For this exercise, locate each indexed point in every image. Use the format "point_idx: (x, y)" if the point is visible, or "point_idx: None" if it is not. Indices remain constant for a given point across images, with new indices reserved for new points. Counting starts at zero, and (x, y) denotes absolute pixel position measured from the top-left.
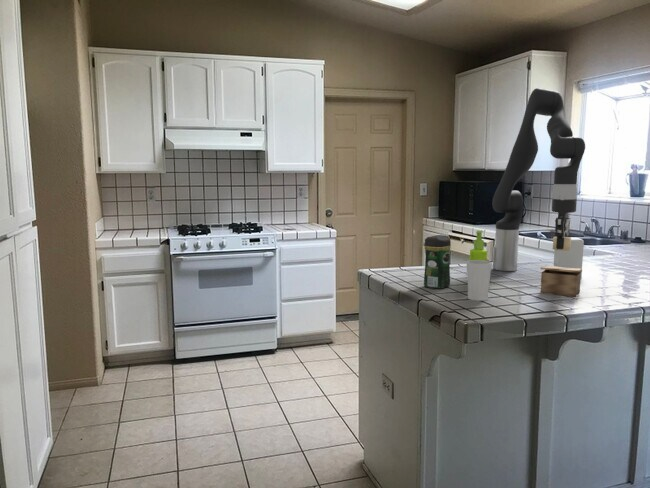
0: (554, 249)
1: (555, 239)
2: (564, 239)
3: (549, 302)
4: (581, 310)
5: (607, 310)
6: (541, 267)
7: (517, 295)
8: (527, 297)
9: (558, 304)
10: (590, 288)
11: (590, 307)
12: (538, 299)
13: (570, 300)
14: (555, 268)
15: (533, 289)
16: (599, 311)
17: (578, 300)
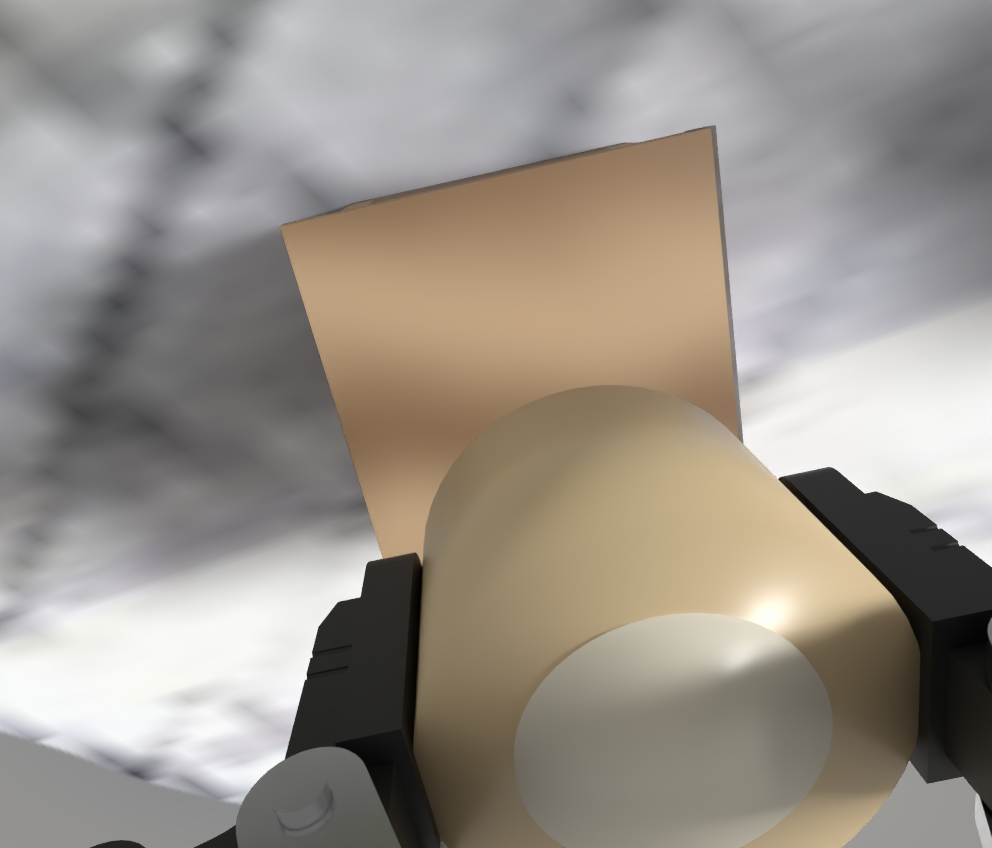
0: (446, 474)
1: (434, 631)
2: (466, 843)
3: (41, 432)
4: (18, 682)
5: (178, 778)
6: (285, 238)
7: (31, 68)
8: (42, 196)
9: (42, 509)
10: (873, 459)
11: (165, 688)
12: (61, 314)
13: (267, 518)
14: (382, 412)
15: (464, 66)
16: (103, 758)
17: (319, 558)
